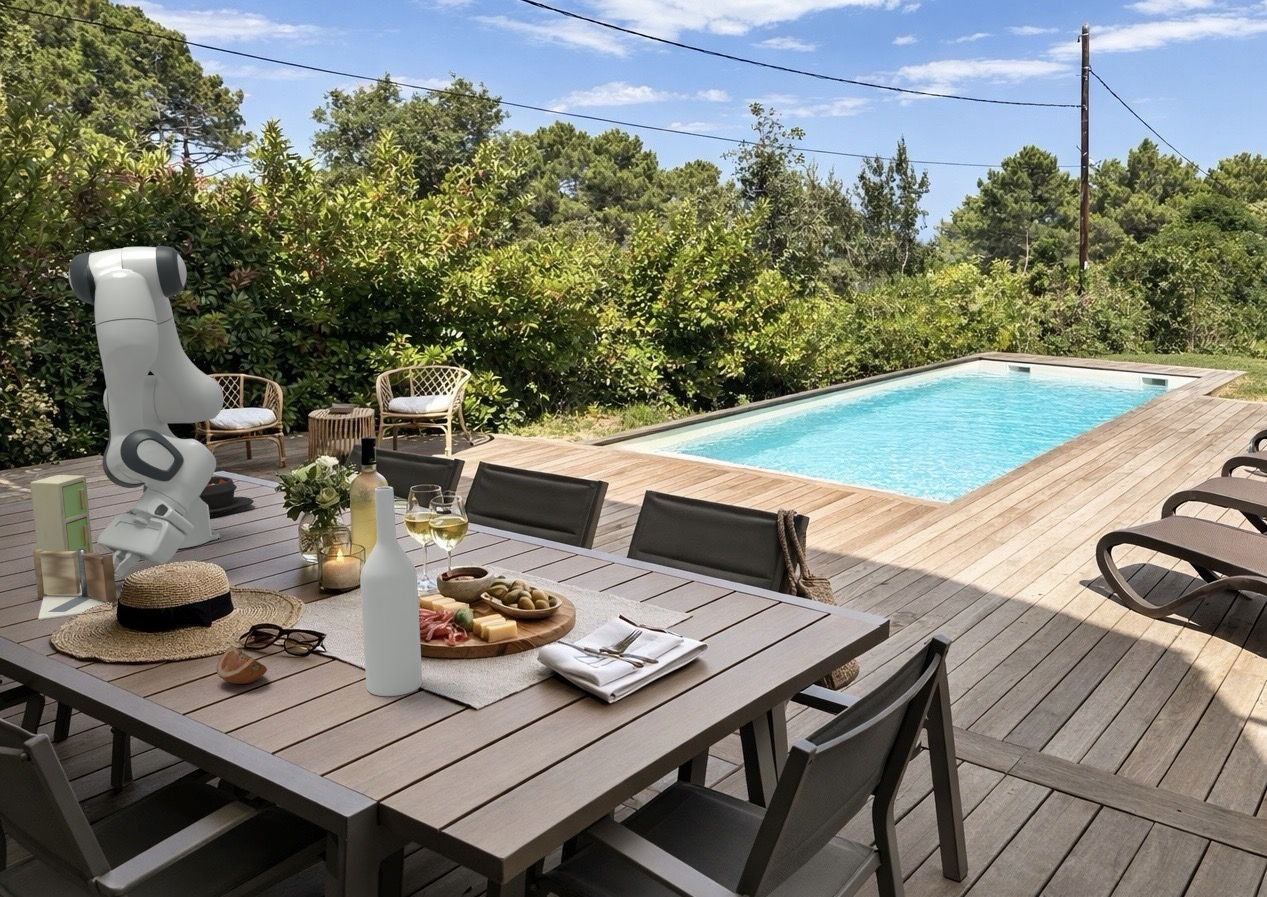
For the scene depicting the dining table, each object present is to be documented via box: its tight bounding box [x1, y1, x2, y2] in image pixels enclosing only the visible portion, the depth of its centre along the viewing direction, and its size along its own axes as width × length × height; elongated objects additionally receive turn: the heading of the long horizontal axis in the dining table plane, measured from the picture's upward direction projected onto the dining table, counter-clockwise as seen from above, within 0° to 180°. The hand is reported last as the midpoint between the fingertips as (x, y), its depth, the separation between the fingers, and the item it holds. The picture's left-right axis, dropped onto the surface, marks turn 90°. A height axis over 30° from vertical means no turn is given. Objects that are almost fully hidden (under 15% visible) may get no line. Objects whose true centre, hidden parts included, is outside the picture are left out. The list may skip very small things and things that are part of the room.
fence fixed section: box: [32, 548, 90, 599], centre depth 200 cm, size 10×2×10 cm, turn 86°
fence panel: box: [82, 552, 118, 603], centre depth 197 cm, size 8×2×9 cm, turn 56°
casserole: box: [200, 476, 254, 516], centre depth 273 cm, size 25×19×8 cm
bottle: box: [359, 485, 423, 697], centre depth 152 cm, size 8×8×30 cm
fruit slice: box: [216, 644, 268, 685], centre depth 156 cm, size 8×7×5 cm
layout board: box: [37, 583, 107, 621], centre depth 199 cm, size 21×12×1 cm, turn 26°
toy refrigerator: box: [29, 474, 94, 579], centre depth 212 cm, size 8×7×21 cm
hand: (114, 574), depth 198 cm, fingers closed
